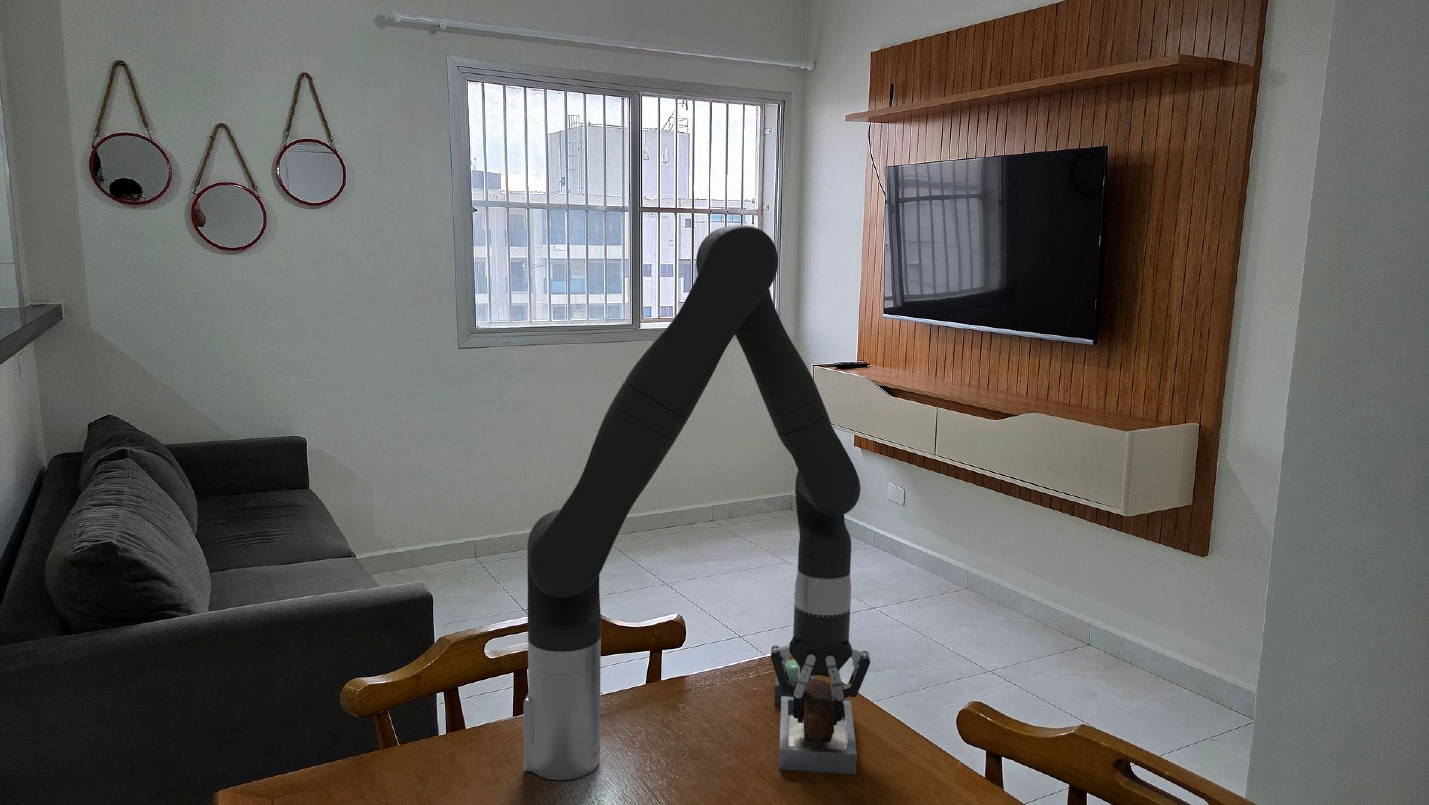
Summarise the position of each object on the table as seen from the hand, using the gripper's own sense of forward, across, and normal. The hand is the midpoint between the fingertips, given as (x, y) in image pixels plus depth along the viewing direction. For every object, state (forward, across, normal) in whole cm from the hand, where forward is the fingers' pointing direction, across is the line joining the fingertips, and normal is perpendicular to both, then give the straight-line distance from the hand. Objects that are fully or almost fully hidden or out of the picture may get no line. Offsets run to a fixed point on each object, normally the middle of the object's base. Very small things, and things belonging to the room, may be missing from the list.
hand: (817, 720), depth 130 cm
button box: (+3, -3, +14) cm, 14 cm away
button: (+1, -3, +14) cm, 14 cm away
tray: (+3, 0, 0) cm, 3 cm away
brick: (+1, 0, 0) cm, 1 cm away
